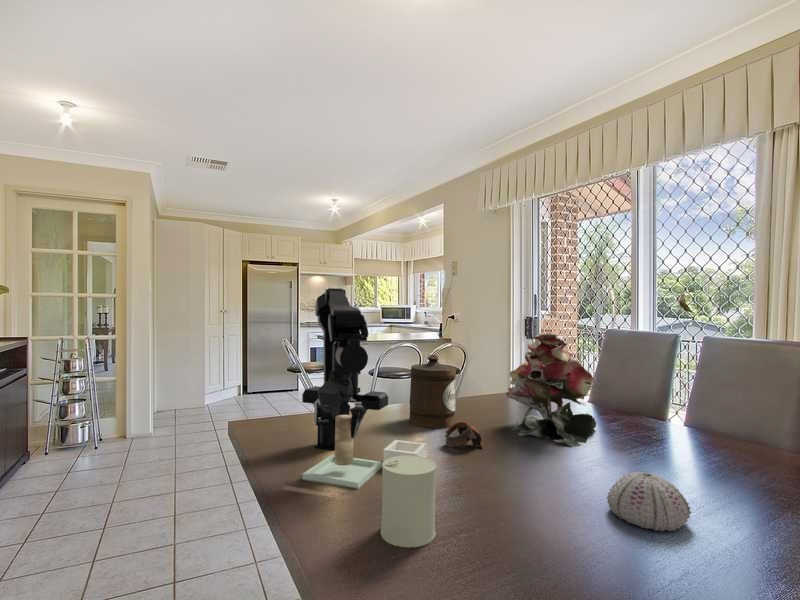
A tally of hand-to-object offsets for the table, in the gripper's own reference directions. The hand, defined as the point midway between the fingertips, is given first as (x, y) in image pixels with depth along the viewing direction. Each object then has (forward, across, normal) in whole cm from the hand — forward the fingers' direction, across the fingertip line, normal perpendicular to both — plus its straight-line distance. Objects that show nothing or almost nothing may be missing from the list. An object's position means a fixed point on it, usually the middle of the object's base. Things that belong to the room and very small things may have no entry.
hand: (344, 436), depth 99 cm
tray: (+9, 0, 0) cm, 9 cm away
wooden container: (+9, +6, +52) cm, 53 cm away
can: (+9, +21, -18) cm, 29 cm away
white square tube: (+9, +11, +10) cm, 17 cm away
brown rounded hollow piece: (+9, +21, +30) cm, 38 cm away
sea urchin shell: (+9, +60, +3) cm, 61 cm away
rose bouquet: (+9, +42, +57) cm, 71 cm away
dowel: (+6, 0, 0) cm, 6 cm away
